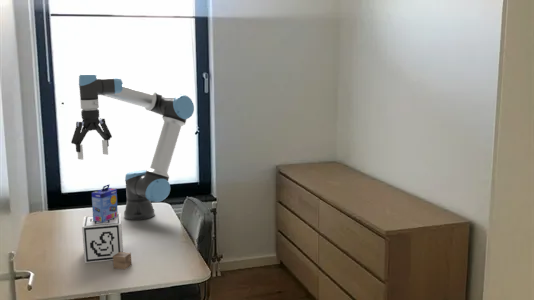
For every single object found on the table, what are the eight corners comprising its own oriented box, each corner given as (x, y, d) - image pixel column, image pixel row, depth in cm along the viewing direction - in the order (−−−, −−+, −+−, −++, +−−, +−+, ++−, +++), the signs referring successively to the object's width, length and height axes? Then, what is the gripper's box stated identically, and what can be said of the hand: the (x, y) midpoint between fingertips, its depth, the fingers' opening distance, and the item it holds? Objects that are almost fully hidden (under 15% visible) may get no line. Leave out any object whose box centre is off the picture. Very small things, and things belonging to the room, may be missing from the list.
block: (84, 263, 234) (82, 226, 232) (86, 250, 249) (84, 216, 246) (123, 259, 238) (121, 223, 235) (122, 247, 252) (120, 213, 250)
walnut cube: (120, 263, 233) (119, 251, 232) (131, 264, 231) (130, 252, 231) (113, 268, 228) (112, 256, 227) (125, 269, 227) (124, 257, 226)
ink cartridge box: (103, 223, 236) (100, 188, 234) (92, 221, 239) (89, 186, 236) (119, 216, 245) (116, 182, 243) (108, 215, 248) (106, 181, 245)
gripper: (71, 112, 246) (75, 162, 249) (117, 106, 266) (120, 153, 269) (60, 111, 250) (64, 160, 254) (106, 106, 270) (109, 151, 274)
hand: (93, 156), depth 262 cm, fingers open, 13 cm apart
